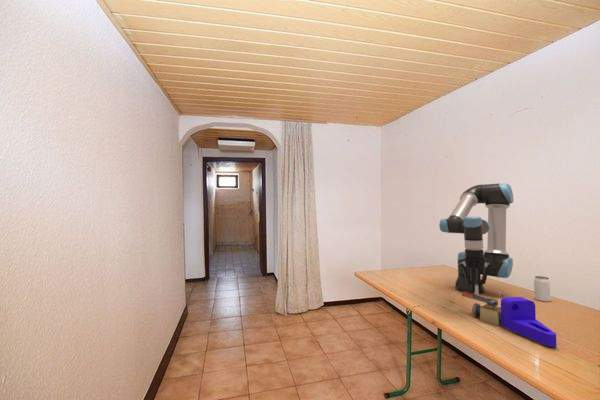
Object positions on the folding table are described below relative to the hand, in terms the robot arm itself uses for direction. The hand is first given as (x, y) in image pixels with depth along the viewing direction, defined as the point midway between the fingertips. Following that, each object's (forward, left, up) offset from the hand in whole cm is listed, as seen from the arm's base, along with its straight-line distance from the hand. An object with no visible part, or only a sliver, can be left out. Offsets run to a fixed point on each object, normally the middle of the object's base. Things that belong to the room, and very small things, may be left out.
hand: (476, 298), depth 129 cm
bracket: (+23, -7, -7) cm, 25 cm away
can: (+12, +48, -7) cm, 50 cm away
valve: (+8, -4, -7) cm, 11 cm away
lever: (+2, -3, 0) cm, 4 cm away
